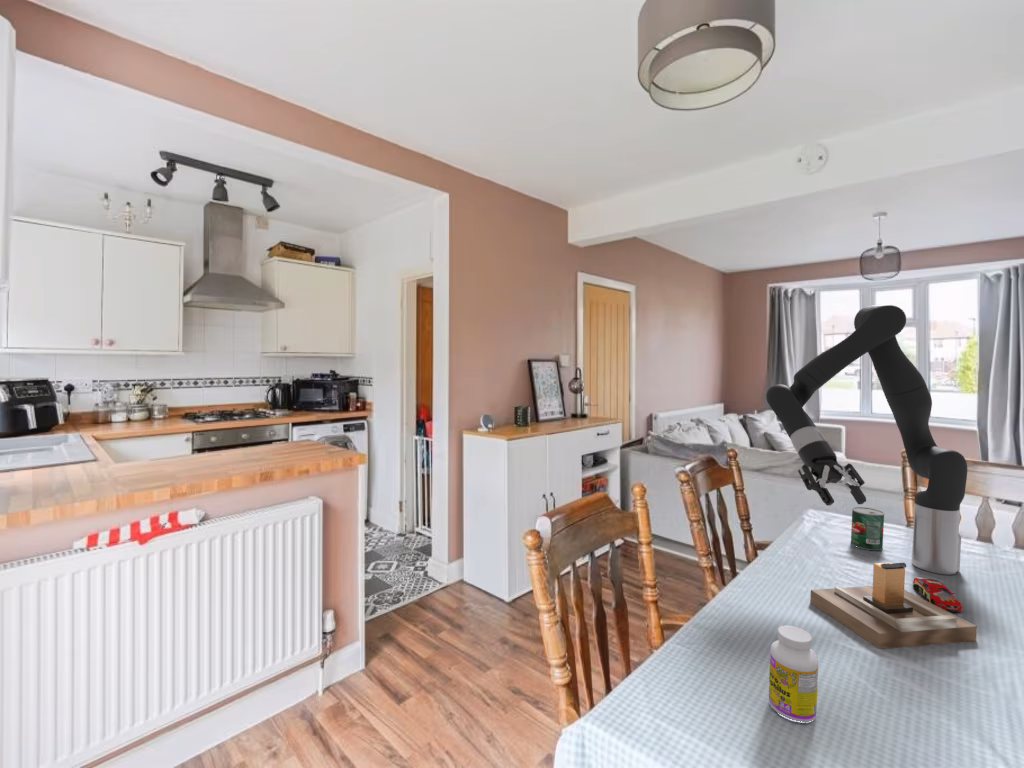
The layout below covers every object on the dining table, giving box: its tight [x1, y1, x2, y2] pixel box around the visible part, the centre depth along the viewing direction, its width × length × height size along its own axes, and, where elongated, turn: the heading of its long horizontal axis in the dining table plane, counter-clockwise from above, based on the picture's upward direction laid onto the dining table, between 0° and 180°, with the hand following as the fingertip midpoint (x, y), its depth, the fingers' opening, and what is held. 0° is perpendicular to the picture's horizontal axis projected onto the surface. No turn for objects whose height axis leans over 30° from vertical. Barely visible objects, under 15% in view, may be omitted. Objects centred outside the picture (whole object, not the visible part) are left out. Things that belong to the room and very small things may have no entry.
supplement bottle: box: [768, 624, 819, 722], centre depth 76 cm, size 7×7×13 cm
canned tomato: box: [850, 506, 885, 551], centre depth 145 cm, size 8×8×11 cm
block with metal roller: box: [863, 562, 913, 614], centre depth 103 cm, size 6×6×10 cm
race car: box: [912, 576, 963, 613], centre depth 112 cm, size 13×5×4 cm, turn 161°
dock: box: [809, 585, 978, 649], centre depth 103 cm, size 22×18×5 cm
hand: (847, 503), depth 114 cm, fingers open, 8 cm apart
